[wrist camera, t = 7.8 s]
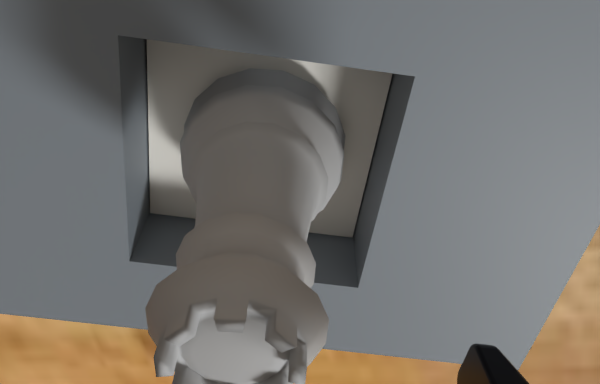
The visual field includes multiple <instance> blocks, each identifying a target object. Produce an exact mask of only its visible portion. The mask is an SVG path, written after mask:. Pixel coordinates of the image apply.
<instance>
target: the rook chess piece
mask: <svg viewBox="0 0 600 384" xmlns="http://www.w3.org/2000/svg"><path fill="white" fill-rule="evenodd" d="M345 137H346V136H345V133H344V130H343V127H342V124H341V121H340V118H339V115H338V112H337V109H336V107H335V106H334V105H333V104H332V103H331V102H330V101H329V100H328V99H327V98H326V97H325V96H324V95H323V93H322V92H321V91H320V90H319V89H318V88H317V87H316V86H315V85H314V84H312V83H309V82H307V81H305V80H303V79H301V78H299V77H297V76H294V75H292V74H290V73H288V72H286V71H283V70H268V69H253V68H249V69H246V70H243V71H239V72H236V73H233V74H230V75H227V76H224V77H221V78H218V79H217V80H216V81H215V82H213V83H212V84H211V85H210V86H209V87H208V88H207V89H206V90H204V91H203V92H202V93H201V94H200V95H199V96H198V97H197V98H195V100H194V102H193V105H192V107H191V109H190V112H189V114H188V117H187V119H186V122H185V124H184V134H183V136H182V138H181V141H180V150H181V165H182V174H183V178H184V180H185V182H186V184H187V186H188V188H189V189H190V193H191V194H192V196H193V198H194V200H195V202H196V204H197V205H196V220H195V227H194V229H192V230H191V231H190V232H188V233H187V234H186V235H185V236H184V238H183V240H182V242H181V245H180V247H179V249H178V251H177V253H176V264H177V270H176V271H174V272H173V273H172V274H170V275H169V276H168V277H166V278H165V279H163V280H162V281H161V282H159V283H158V284H157V285H156V286H155V289H154V291H153V293H152V295H151V297H150V299H149V301H148V304H147V306H146V308H145V311H146V319H147V326H148V333H149V335H150V336H151V338H152V340H153V341H154V343H155V344H156V346H157V348H156V351H155V355H154V363H155V371H156V377H162V376H173V374H174V371H175V375H174V379H173V383H172V384H293V383H295V384H305V379H306V370H307V366H308V365H310V363H311V362H312V361H313V360H314V358H315V357H316V356H317V354H318V353H319V352H320V351H321V349H322V348H323V347H324V345H325V344H326V338H327V331H328V323H329V318H328V316H327V314H326V312H325V309H324V307H323V305H322V303H321V301H320V298H319V296H318V294H317V293H316V292H314V291H313V290H312V289H311V287H312V286H313V284H314V278H315V268H316V262H315V260H314V257H313V255H312V253H311V250H310V248H309V246H308V244H307V238H308V233H309V229H310V225H311V221H313V220H314V219H315V217H316V216H317V214H318V213H319V212H320V211H322V210H323V209H324V208H325V206H326V205H327V203H328V202H329V200H330V198H331V197H332V195H333V194H334V192H335V191H336V189H337V187H338V185H339V183H340V181H341V176H342V168H343V160H344V145H345Z"/></svg>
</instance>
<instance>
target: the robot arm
mask: <svg viewBox="0 0 600 384" xmlns="http://www.w3.org/2000/svg"><path fill="white" fill-rule="evenodd" d="M457 384H529V383H528V382H527V381H526V379H525V378H524V377H523V376H522V375H521V374H520V373H519V372H518V370H517V369H516V368H515V367H514V366H513V365H512V364H511V362H510V361H509V360H508V359H507V358H506V357H505V356H504V354H503V353H502V352H501V351H500V350H499V349H498V348H497V347H495V346H493V345H487V344H478V343H475V344H473V345H471V346H470V348H469V350H468V352H467V354H466V356H465V359H464V361H463V363H462V365H461V367H460V369H459V372H458V377H457Z"/></svg>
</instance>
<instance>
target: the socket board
mask: <svg viewBox="0 0 600 384" xmlns="http://www.w3.org/2000/svg"><path fill="white" fill-rule="evenodd" d="M249 68H253V69H268V70H283V71H286V72H288V73H290V74H292V75H294V76H297V77H299V78H301V79H303V80H305V81H307V82H309V83H312V84H314V85H315V86H316V87H317V88H318V89H319V90H320V91H321V92H322V93H323V95H324V96H325V97H326V98H327V99H328V100H329V101H330V102H331V103H332V104H333V105H334V106H335V107H336V109H337V112H338V115H339V118H340V121H341V124H342V127H343V130H344V133H345V136H346V137H345V145H344V160H343V168H342V176H341V181H340V183H339V185H338V187H337V189H336V191H335V192H334V194H333V195H332V197H331V198H330V200H329V202H328V203H327V205H326V206H325V208H324V209H323V210H322V211H320V212H319V213H318V214H317V216H316V217H315V219H314V220H313V221H311V225H310V229H309V233H308V238H307V244H308V246H309V248H310V250H311V253H312V255H313V257H314V260H315V262H316V268H315V278H314V284H313V286H312V287H311V289H312V290H313V291H314V292H316V293H317V294H318V296H319V298H320V301H321V303H322V305H323V307H324V309H325V312H326V314H327V316H328V318H329V323H328V331H327V338H326V344H325V345H324V347H323V348H322V349H330V350H340V351H349V352H358V353H367V354H376V355H385V356H395V357H404V358H413V359H422V360H431V361H441V362H450V363H459V364H462V363H463V361H464V359H465V356H466V354H467V352H468V350H469V348H470V346H471V345H473V344H475V343H478V344H487V345H493V346H495V347H497V348H498V349H499V350H500V351H501V352H502V353H503V354H504V356H505V357H506V358H507V359H508V360H509V361H510V362H511V364H512V365H513V366H514V367H515V368H516V369H517V370H519V368H520V366H521V364H522V362H523V361H524V359H525V357H526V355H527V353H528V352H529V350H530V348H531V346H532V345H533V343H534V341H535V339H536V337H537V336H538V334H539V332H540V330H541V328H542V327H543V325H544V323H545V321H546V320H547V318H548V316H549V314H550V312H551V311H552V309H553V307H554V305H555V303H556V302H557V300H558V298H559V296H560V294H561V293H562V291H563V289H564V287H565V286H566V284H567V282H568V280H569V278H570V277H571V275H572V273H573V271H574V269H575V268H576V266H577V264H578V262H579V261H580V259H581V257H582V255H583V253H584V252H585V250H586V248H587V246H588V244H589V243H590V241H591V239H592V237H593V236H594V234H595V232H596V230H597V228H598V227H599V225H600V0H0V314H9V315H18V316H27V317H36V318H46V319H55V320H64V321H73V322H82V323H92V324H101V325H110V326H119V327H128V328H137V329H147V330H148V326H147V319H146V311H145V308H146V306H147V304H148V301H149V299H150V297H151V295H152V293H153V291H154V289H155V286H156V285H157V284H158V283H159V282H161V281H162V280H163V279H165V278H166V277H168V276H169V275H170V274H172V273H173V272H174V271H176V270H177V264H176V253H177V251H178V249H179V247H180V245H181V242H182V240H183V238H184V236H185V235H186V234H187V233H188V232H190V231H191V230H192V229H194V227H195V220H196V205H197V204H196V202H195V200H194V198H193V196H192V194H191V193H190V189H189V188H188V186H187V184H186V182H185V180H184V178H183V174H182V165H181V150H180V141H181V138H182V136H183V134H184V124H185V122H186V119H187V117H188V114H189V112H190V109H191V107H192V105H193V102H194V100H195V98H197V97H198V96H199V95H200V94H201V93H202V92H203V91H204V90H206V89H207V88H208V87H209V86H210V85H211V84H212V83H213V82H215V81H216V80H217V79H218V78H221V77H224V76H227V75H230V74H233V73H236V72H239V71H243V70H246V69H249Z"/></svg>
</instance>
